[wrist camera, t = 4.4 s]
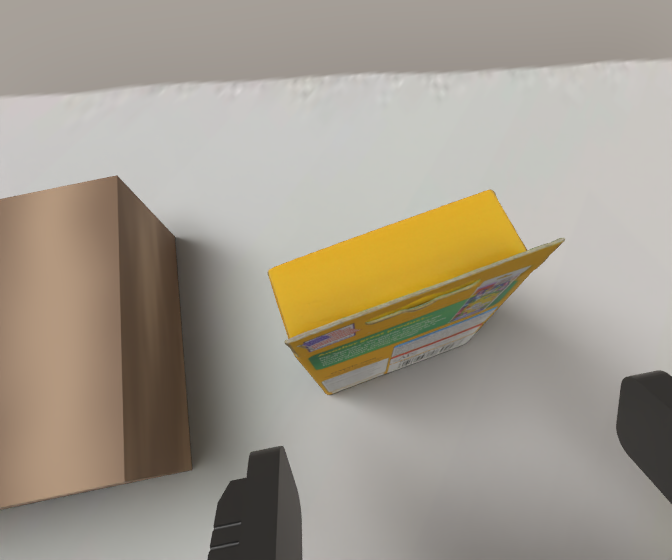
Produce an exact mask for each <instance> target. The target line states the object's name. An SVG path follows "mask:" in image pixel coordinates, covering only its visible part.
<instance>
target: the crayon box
mask: <svg viewBox="0 0 672 560" xmlns="http://www.w3.org/2000/svg"><path fill="white" fill-rule="evenodd" d="M564 241H565V239H564V238H559V239H557V240H555V241H553V242H551V243H547V244H543V245H541V246H538V247H535V248H532V249H530V250H528V251H527V249H526V247H525V245H524V244H523V242H522V241H521V239H520V237H519V236H518V234H517V232H516V230H515V228H514V227H513V225H512V223H511V222H510V220H509V219H508V217H507V215H506V213H505V211H504V210H503V208H502V206H501V205H500V203H499V201H498V199H497V197H496V194H495V192H494V191H493V190H487V191H484V192H481V193H478V194H475V195H472V196H469V197H467V198H464V199H461V200H458V201H456V202H452V203H450V204H447V205H444V206H441V207H439V208H436V209H433V210H430V211H427V212H425V213H422V214H419V215H416V216H413V217H411V218H408V219H405V220H402V221H399V222H397V223H394V224H391V225H387V226H385V227H382V228H380V229H377V230H374V231H371V232H368V233H366V234H363V235H360V236H357V237H354V238H352V239H349V240H346V241H343V242H340V243H338V244H335V245H332V246H330V247H327V248H325V249H321V250H319V251H316V252H313V253H310V254H308V255H306V256H303V257H300V258H296V259H294V260H292V261H289V262H286V263H283V264H281V265H278V266H276V267H274V268H272V269H270V270H268V276H269V279H270V282H271V285H272V289H273V292H274V295H275V298H276V302H277V305H278V308H279V311H280V314H281V317H282V320H283V323H284V326H285V329H286V332H287V335H288V340H285V344H286V345H287V346H288V347H290V349H291V350H292V352H293V353H294V355H295V357H296V358H297V359H298V360H299V362H300V363H301V364H302V365H303V367H304V368H305V369H306V370H307V371H308V372H309V374H310V375H311V376H312V377H313V379H314V380H315V381H316V382H317V383H318V385H319V386H320V387H321V388H322V390H323V391H324V392H325V393H326V394H327V395H331V394H334V393H336V392H339V391H341V390H344V389H346V388H349V387H352V386H355V385H357V384H360V383H363V382H365V381H368V380H370V379H373V378H376V377H378V376H381V375H383V374H387V373H390V372H392V371H395V370H398V369H400V368H403V367H406V366H408V365H411V364H414V363H417V362H419V361H422V360H425V359H427V358H430V357H432V356H435V355H438V354H440V353H443V352H446V351H448V350H451V349H453V348H456V347H459V346H461V345H464V344H466V343H467V342H468V341H469V340H470V339H471V338H472V337H473V336H474V334H475V333H476V332H477V331H478V330H479V329H480V328H481V327H482V326H483V324H484V323H485V322H486V321H487V320H488V319H489V318H490V317H491V316H492V315H493V314H494V312H495V311H496V310H497V309H498V308H499V307H500V306H501V305H502V304H503V302H504V301H505V300H506V299H507V298H508V297H509V296H510V295H511V294H512V293H513V292H514V291H515V290H516V289H517V288H518V287H519V285H520V284H521V283H522V282H523V281H524V280H525V279H526V278H527V277H528V276H529V274H530V273H531V272H532V271H533V270H535V269H537V268H538V267H539V266H540V265H541V264H542V263H543V262H544V261H545V260H546V259H547V258H548V257H549V255H550V254H551V253H552V252H554V251H555V250H556V249H557V248H558V247H559V246H560V245H561V244H562V242H564Z"/></svg>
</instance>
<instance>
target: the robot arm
mask: <svg viewBox="0 0 672 560" xmlns="http://www.w3.org/2000/svg"><path fill="white" fill-rule="evenodd" d="M616 429H617V435H618V438H619V441H620V443H621V445H622V447H623V449H624V450H625V452H626V453H627V454H628V455H629V457H630V458H631V459H632V460H633V461H634V462H635V463H636V464H637V466H638V467H639V468H640V469H641V470H642V471H643V472H644V473H645V475H646V476H647V477H648V478H649V479H650V480H651V481H652V482H653V484H654V485H655V486H656V487H657V488H658V489H659V490H660V491H661V493H662V494H663V495H664V496H665V497H666V498H667V499H668V500H669V502H670V503H671V504H672V376H670V375H669V374H668V373H666V372H664V371H653V372H648V373H643V374H638V375H633V376H629V377H625V378H624V379H623V380H622V383H621V390H620V398H619V407H618V415H617V424H616ZM208 560H302V519H301V507H300V500H299V495H298V491H297V487H296V484H295V481H294V478H293V474H292V471H291V468H290V465H289V462H288V458H287V455H286V452H285V449H284V447H283V446H278V447H273V448H269V449H264V450H259V451H254V452H251V453H250V456H249V462H248V470H247V478H243V479H238V480H233V481H230V483H229V484H228V486H227V488H226V490H225V491H224V493H223V495H222V497H221V498H220V500H219V502H218V505H217V510H216V516H215V521H214V531H213V532H212V538H211V544H210V552H209V555H208Z"/></svg>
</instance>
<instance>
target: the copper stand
mask: <svg viewBox="0 0 672 560" xmlns="http://www.w3.org/2000/svg"><path fill="white" fill-rule="evenodd" d="M189 470H192V462H191V448H190V435H189V421H188V408H187V394H186V381H185V367H184V354H183V340H182V327H181V313H180V300H179V286H178V273H177V259H176V245H175V236H174V235H173V234H172V233H171V232H170V231H169V230H168V229H167V228H166V227H165V226H164V225H163V224H162V223H161V221H160V220H159V219H158V218H157V217H156V216H155V215H154V214H153V213H152V212H151V211H150V210H149V209H148V208H147V207H146V206H145V204H144V203H143V202H142V201H141V200H140V199H139V198H138V197H137V196H136V195H135V194H134V193H133V192H132V191H131V190H130V189H129V188H128V186H127V185H126V184H125V183H124V182H123V181H122V180H121V179H120V178H119V177H118V176H112V177H107V178H102V179H97V180H92V181H87V182H82V183H77V184H72V185H67V186H63V187H58V188H53V189H48V190H43V191H38V192H33V193H28V194H23V195H18V196H13V197H8V198H4V199H0V510H2V509H6V508H11V507H16V506H21V505H26V504H31V503H35V502H40V501H45V500H50V499H55V498H59V497H64V496H69V495H74V494H79V493H84V492H88V491H93V490H98V489H103V488H108V487H112V486H117V485H122V484H127V483H132V482H136V481H141V480H146V479H151V478H156V477H161V476H165V475H170V474H175V473H180V472H185V471H189Z"/></svg>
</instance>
